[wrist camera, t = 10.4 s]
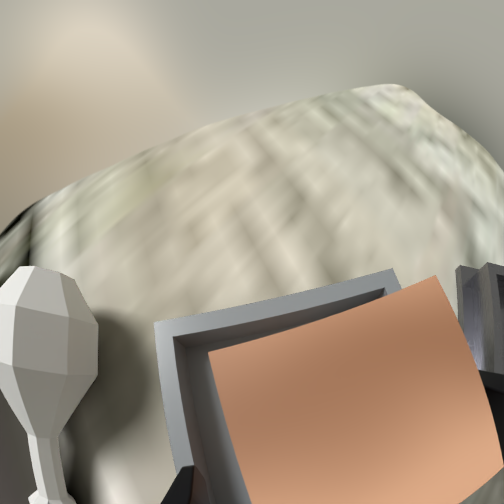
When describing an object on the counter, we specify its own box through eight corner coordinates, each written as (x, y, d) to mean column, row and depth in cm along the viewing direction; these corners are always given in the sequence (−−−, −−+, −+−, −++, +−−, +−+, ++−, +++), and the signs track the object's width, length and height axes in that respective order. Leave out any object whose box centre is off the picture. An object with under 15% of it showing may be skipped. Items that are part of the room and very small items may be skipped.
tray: (430, 476, 12) (457, 483, 9) (213, 538, 11) (201, 559, 8) (375, 292, 19) (392, 268, 16) (172, 339, 18) (154, 322, 15)
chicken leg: (26, 487, 12) (-8, 527, 5) (19, 283, 18) (-28, 247, 11) (118, 505, 15) (113, 561, 7) (109, 295, 21) (93, 264, 14)
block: (360, 445, 13) (503, 466, 3) (275, 474, 13) (282, 580, 3) (334, 369, 16) (435, 275, 6) (251, 396, 15) (207, 351, 5)
